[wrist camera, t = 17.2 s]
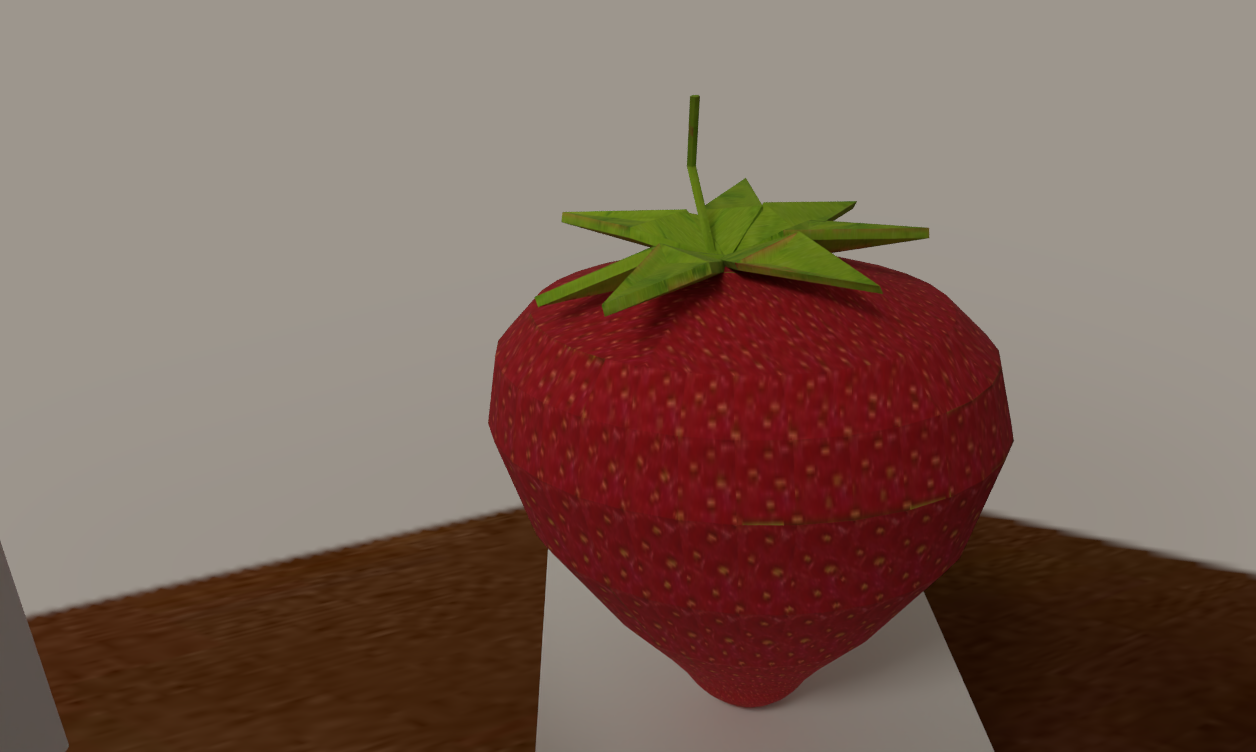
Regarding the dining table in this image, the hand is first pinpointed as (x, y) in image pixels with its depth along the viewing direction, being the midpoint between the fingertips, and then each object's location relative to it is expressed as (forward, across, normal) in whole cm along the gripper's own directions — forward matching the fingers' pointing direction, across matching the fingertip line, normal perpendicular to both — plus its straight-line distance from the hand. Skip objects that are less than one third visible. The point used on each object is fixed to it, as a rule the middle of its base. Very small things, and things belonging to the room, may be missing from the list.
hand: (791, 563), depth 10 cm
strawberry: (+7, 0, -8) cm, 10 cm away
